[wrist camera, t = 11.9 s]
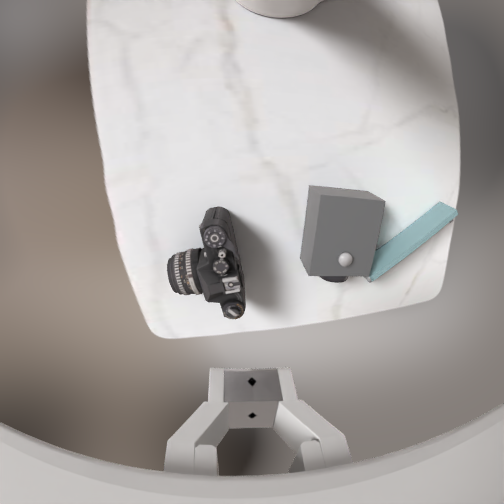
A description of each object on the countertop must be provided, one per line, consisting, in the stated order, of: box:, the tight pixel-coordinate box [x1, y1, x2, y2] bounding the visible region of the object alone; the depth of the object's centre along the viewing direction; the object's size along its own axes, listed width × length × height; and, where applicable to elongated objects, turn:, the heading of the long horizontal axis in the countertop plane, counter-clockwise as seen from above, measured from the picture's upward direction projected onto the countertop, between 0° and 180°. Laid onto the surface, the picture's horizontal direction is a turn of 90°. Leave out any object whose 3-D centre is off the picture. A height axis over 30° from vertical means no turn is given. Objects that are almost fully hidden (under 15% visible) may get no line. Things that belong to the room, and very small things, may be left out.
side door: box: [364, 202, 458, 282], centre depth 44 cm, size 20×2×5 cm, turn 126°
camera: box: [167, 207, 246, 319], centre depth 41 cm, size 14×11×10 cm
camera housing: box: [300, 185, 385, 283], centre depth 42 cm, size 13×10×7 cm
